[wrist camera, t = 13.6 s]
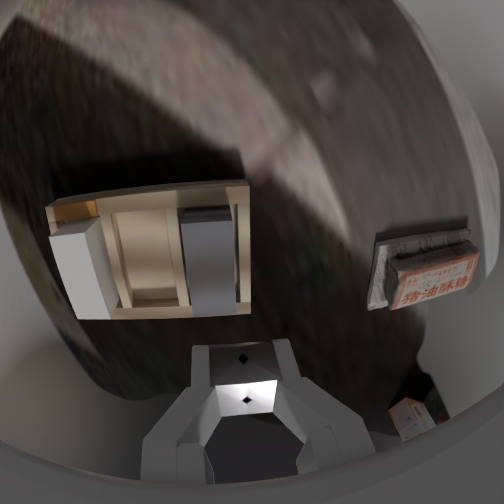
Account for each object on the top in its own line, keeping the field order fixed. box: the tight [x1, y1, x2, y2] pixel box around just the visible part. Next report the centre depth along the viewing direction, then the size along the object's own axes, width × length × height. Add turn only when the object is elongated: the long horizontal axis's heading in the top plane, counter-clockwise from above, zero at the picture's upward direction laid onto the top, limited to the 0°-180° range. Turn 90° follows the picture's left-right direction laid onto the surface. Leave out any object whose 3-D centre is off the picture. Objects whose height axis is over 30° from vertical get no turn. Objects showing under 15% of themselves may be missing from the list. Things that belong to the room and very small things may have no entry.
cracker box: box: [388, 397, 436, 442], centre depth 44 cm, size 14×6×21 cm, turn 50°
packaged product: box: [367, 228, 479, 311], centre depth 31 cm, size 18×5×10 cm
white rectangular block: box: [49, 217, 120, 319], centre depth 23 cm, size 9×4×4 cm, turn 1°
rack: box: [45, 179, 251, 319], centre depth 25 cm, size 13×20×6 cm
